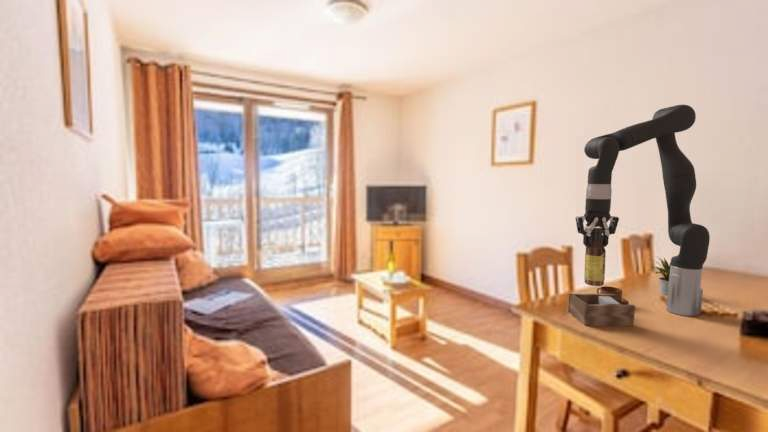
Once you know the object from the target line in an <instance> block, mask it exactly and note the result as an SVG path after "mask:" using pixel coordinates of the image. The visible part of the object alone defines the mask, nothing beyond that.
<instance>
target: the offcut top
mask: <svg viewBox="0 0 768 432" xmlns="http://www.w3.org/2000/svg"><path fill="white" fill-rule="evenodd" d="M598 304H600V305H621V304H620V303H618V302H617V301H615V300H614V299H613V298H611V297H606V296H598Z"/></svg>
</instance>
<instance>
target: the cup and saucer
mask: <svg viewBox="0 0 768 432" xmlns="http://www.w3.org/2000/svg"><path fill="white" fill-rule="evenodd" d="M596 294H615V301H617V302H618V303H620V304H621V305H629V303H630V302H629V301H628V300H627V299H625V298H623V290H622V289H621V288H619V287H614V286H608V285H606V286H604V285H603V286H600V287H597V289H596Z"/></svg>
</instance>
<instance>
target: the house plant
mask: <svg viewBox="0 0 768 432" xmlns="http://www.w3.org/2000/svg"><path fill="white" fill-rule="evenodd" d="M657 258H658V259H659V260H660V263H659V261H656V260H654V259H653V260H652V259H650V258H649V260H651V261H652V262H653V263H654V262H655V263H656V264H661V265H659V266H657V265H656V266H652V265H651V266H650V267H652V268H655V269H653V270H654V271H653V272H652V274H653V273H655V274H654V275H656V274H660V275H661V276H660V277H658V286H659V293H660V294H661V295H664V296H668V286H669V276H670V265H671V261H670V262H669V263H668V261H667V259H666V258H665V257H664V258H663V259H662V258H661V257H658V256H657ZM657 270H658V271H657Z"/></svg>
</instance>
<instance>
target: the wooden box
mask: <svg viewBox="0 0 768 432" xmlns="http://www.w3.org/2000/svg"><path fill="white" fill-rule="evenodd" d="M598 296H606V297H611V298H613V299H614V300H615V294H598V293H569V294H568V308H567V312H568V313H569V314H570V313H571V314H572V315H571V314H570V315H571V316H572V317H573V318H575V319H576V318H577V319H576V320H577V321H579V322H580V323H581V324H583V325H584V326H586V327H587V326H588V327H589V326H590V327H591V326H593V327H594V326H596V327H597V326H599V327H600V326H602V327H603V326H604V327H612V326H613V327H634V323H635V312H636V306H635V305H634V304H628V305H600V304H598Z"/></svg>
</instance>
